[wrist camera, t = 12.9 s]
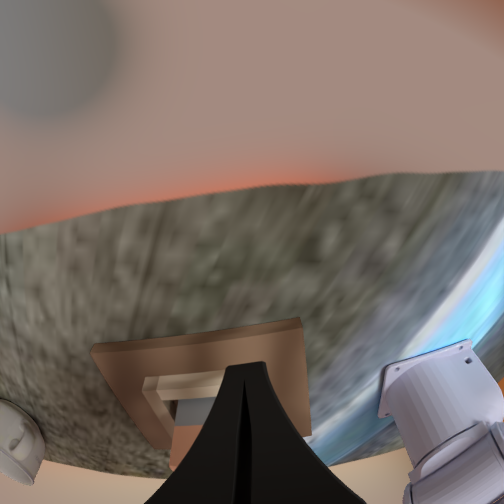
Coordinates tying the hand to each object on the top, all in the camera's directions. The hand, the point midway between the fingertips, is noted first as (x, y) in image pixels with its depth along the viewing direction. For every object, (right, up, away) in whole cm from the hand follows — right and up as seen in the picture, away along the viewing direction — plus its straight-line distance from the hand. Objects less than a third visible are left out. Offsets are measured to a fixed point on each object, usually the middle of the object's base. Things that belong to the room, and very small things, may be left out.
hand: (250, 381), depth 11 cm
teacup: (-28, -15, +17) cm, 36 cm away
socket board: (-3, -7, +14) cm, 16 cm away
